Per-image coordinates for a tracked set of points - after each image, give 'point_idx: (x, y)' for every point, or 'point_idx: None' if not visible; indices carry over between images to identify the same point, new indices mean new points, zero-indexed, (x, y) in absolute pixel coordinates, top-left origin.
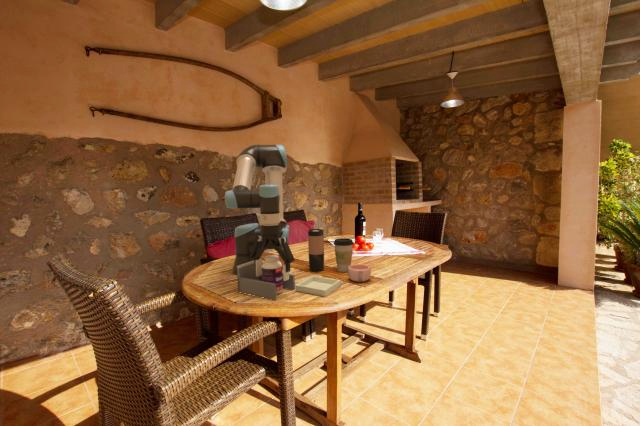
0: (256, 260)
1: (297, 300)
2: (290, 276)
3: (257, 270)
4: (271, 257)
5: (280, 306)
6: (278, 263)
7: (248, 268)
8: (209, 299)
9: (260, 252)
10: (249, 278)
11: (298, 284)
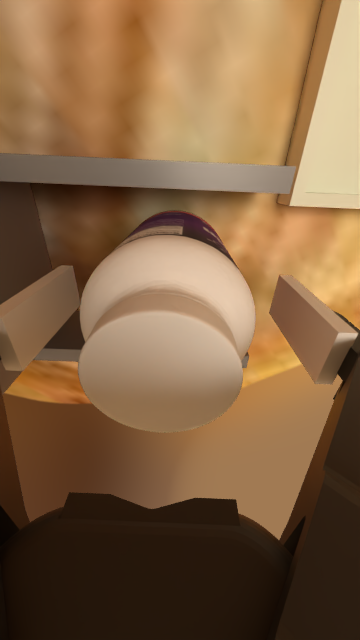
0: (14, 368)
1: (320, 294)
2: (264, 192)
3: (63, 321)
4: (184, 405)
5: (275, 354)
6: (242, 343)
7: None
8: (36, 388)
9: (11, 444)
10: (22, 287)
11: (306, 184)
